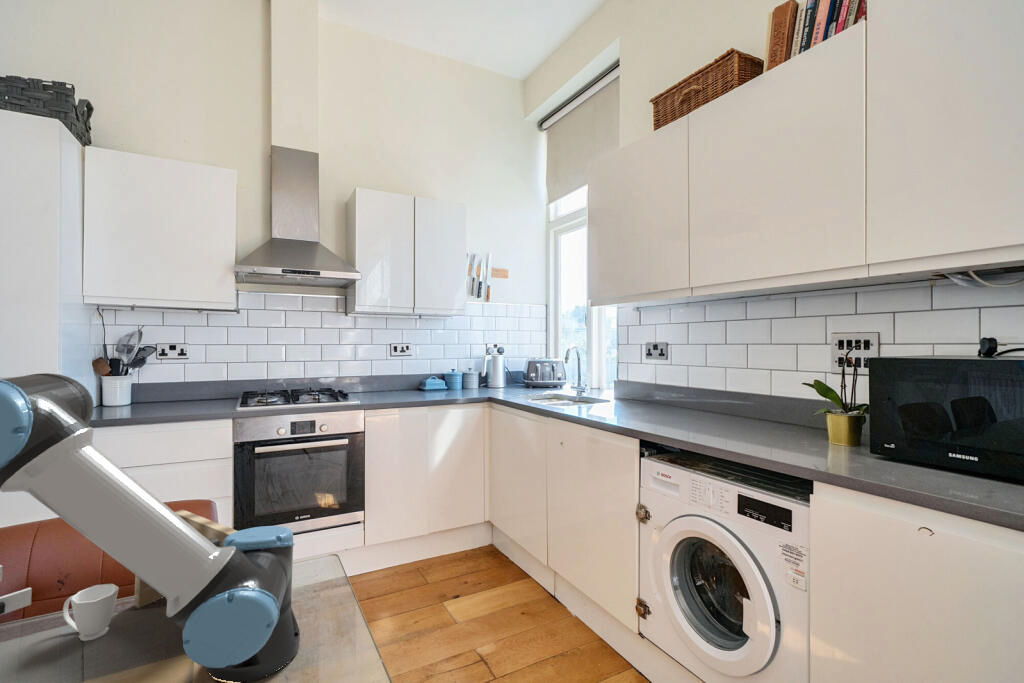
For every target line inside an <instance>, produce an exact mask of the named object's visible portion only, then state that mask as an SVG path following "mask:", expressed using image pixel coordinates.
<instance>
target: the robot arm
mask: <svg viewBox="0 0 1024 683" xmlns="http://www.w3.org/2000/svg"><path fill="white" fill-rule="evenodd" d="M94 407H95V404H94V400H93V397H92V395H91V393H90V391H89V390H88V389H87V387H85V385H83V383H80V381H78V380H77V379H73V378H72V377H69V376H67V375H62V374H60V373H59V374H58V373H50V372H49V373H48V372H45V373H44V372H43V373H34V374H28V375H21V376H14V377H8V378H2V379H1V378H0V492H1V493H15V492H16V493H18V492H19V493H20V492H24V493H28V494H29V495H30V496H32V497H33V498H34V499H35V500H37V501H38V502H39V503H41V504H42V505H43V506H45V507H46V508H47V509H48V510H50V511H51V512H52V513H53V514H55V515H57V516H58V517H59V518H60V519H62V520H63V521H64V522H65V523H67V524H68V525H70V526H71V527H72V528H74V529H75V530H76V531H77V532H79V533H80V534H82V535H83V537H85V538H86V539H88V540H89V541H90V542H92V543H94V545H96V546H97V547H98V548H100V549H101V550H102V551H104V552H105V553H106V554H108V555H109V556H110V557H111V558H113V559H114V560H115V561H117V562H118V563H119V564H121V565H122V566H123V567H125V568H126V569H127V570H128V571H130V572H131V573H132V574H133V575H134V576H135V575H136V576H138V577H139V578H140V579H141V580H143V581H144V582H145V583H147V584H148V585H149V586H151V587H152V588H153V589H155V590H156V591H157V592H158V593H160V594H161V595H162V596H164V597H165V598H164V599H166V613H165V615H166V616H167V618H168V619H170V620H171V621H172V622H174V623H175V624H176V625H177V626H179V627H180V629H182V634H181V635H182V647H183V650H184V652H185V654H186V655H187V657H188V658H189V659H190V660H191V661H192V662H194V663H196V664H197V665H200V666H203V667H205V668H206V671H207V670H208V672H209V673H210V674H211V676H213V677H215V678H217V679H221V680H226V681H233V682H246V683H251V682H254V681H258V680H261V679H263V677H264V678H266V677H267V676H266V675H269V674H271V673H273V672H275V671H276V670H278V669H279V668H281V667H282V666H284V665H285V664H286V663H287V662H289V661H290V660H291V659H292V658H293V657H294V656H296V655H297V654H296V653H298V652H299V650H298V649H300V646H301V631H300V627H299V624H298V622H297V618H296V616H295V612H294V610H293V607H292V591H293V590H292V588H293V554H294V551H293V550H294V546H295V542H294V533H293V531H292V530H291V529H290V528H288V527H285V526H281V525H280V526H279V525H265V526H264V525H263V526H255V527H250V528H245V529H241V530H237V532H235V533H232V534H230V535H229V536H227V537H226V538H225V539H224V541H223V546H222V548H219V547H216V546H215V545H214V544H213V543H211V542H210V541H209V540H208V539H207V538H205V537H204V536H203V535H202V534H200V533H199V532H198V531H197V530H196V529H194V528H193V527H192V526H191V525H189V524H188V523H187V522H186V521H185V520H183V519H182V518H181V517H180V516H179V515H177V514H176V513H175V512H176V511H174V510H173V509H171V507H169V506H168V505H167V504H165V503H164V502H163V501H162V500H160V499H159V498H158V497H157V496H156V495H154V494H153V493H152V492H151V491H149V490H148V489H147V488H146V487H145V486H143V485H142V484H141V483H139V482H138V481H137V479H135V477H133V476H131V475H130V474H129V473H128V472H126V471H125V470H124V469H122V468H121V467H120V466H119V465H118V464H117V463H116V462H114V460H112V459H111V458H110V457H108V456H107V455H106V454H105V453H103V451H101V450H100V449H99V448H97V447H96V446H95V445H94V444H93V436H94V428H93V427H91V426H90V425H89V424H90V422H91V420H92V418H93V415H94V410H95V408H94ZM3 568H4V567H3V565H2V564H0V582H2V581H3V571H4V569H3ZM32 592H33V589H32V587H26V588H24V589H21V590H18V591H14V592H12V593H8V594H5V595H3V596H2V595H1V596H0V616H2V615H6V614H7V613H11V612H13V611H17V610H19V609H22V608H23V609H24V608H26V607H28V606H30V605H32ZM299 645H300V646H299ZM297 651H298V652H297ZM295 654H296V655H295ZM294 658H295V657H294ZM294 658H293V659H294ZM293 659H292V660H293ZM292 660H291V661H292ZM291 661H290V662H291ZM290 662H289V663H290ZM284 667H285V666H284ZM281 669H282V668H281ZM278 671H279V670H278ZM208 672H207V673H208ZM275 673H276V672H275ZM273 674H274V673H273ZM271 675H272V674H271ZM265 676H266V677H265ZM269 676H270V675H269Z"/></svg>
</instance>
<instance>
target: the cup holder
mask: <svg viewBox="0 0 1024 683" xmlns="http://www.w3.org/2000/svg"><path fill="white" fill-rule="evenodd" d="M174 512H175V513H176V514H177V515H179V516H180V517H181V518H182V519H183V520H185V521H186V522H187V523H188V524H189V525H191V526H192V527H193V528H194V529H196V530H197V531H198V532H199V533H200V534H202V535H203V536H204V537H205V538H207V539H208V540H209V541H210V542H211V543H213V544H214V545H215V546H216V547H219V548H222V546H223V541H224V539H225V538H226V537H227V536H229V535H230V534H232V533H235V532H237V531H238V530H236V529H233V528H231V527H229V526H227V525H223V524H221V523H219V522H216V521H213V520H211V519H208V518H205V517H203V516H200V515H198V514H196V513H194V512H193V513H192V512H191V511H188V510H185V509H180V510H176V511H174ZM161 597H163V596H162V595H161V594H160V593H158V592H157V591H156V590H155V589H153V588H152V587H151V586H149V585H148V584H147V583H145V582H144V581H143V580H141V579H140V578H139V577H138V576H136V575H135V574H134V600H133V602H134V605H135V606H134V607H136V608H138V609H141V608H143V607H145V605H146V604H148V605H150V604H152V603H151V602H153V601H155V600H157V599H159V598H161ZM155 602H156V601H155ZM149 603H150V604H149ZM153 603H154V602H153ZM142 606H143V607H142ZM146 606H147V605H146ZM140 607H141V608H140Z"/></svg>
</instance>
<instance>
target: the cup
mask: <svg viewBox="0 0 1024 683" xmlns="http://www.w3.org/2000/svg"><path fill="white" fill-rule="evenodd" d="M119 589H120V587H119V586H118V585H116V584H114V583H105V584H96V585H93V586H90V587H87V588H85V589H82V590H79V591H77V593H76V594H74V595H71V596H70V597H68V598H66V600H65V601H64V604H63V608H62V616H63V620H64V621H65V622H66V624H67V625H68V626H69V627H70V628H71V629H73V631H76V632H77V633H78V632H79V633H78V634H79V635H78V639H79V638H80V640H81V641H84V642H85V641H86V642H87V641H92V640H95V639H98V638H101V637H103V636H104V635H106V634H107V632H108V631H109V630H110V627H109V625H110V623H111V621H112V618H113V615H114V612H115V608H116V607H115V606H116V602H117V597H118V594H119ZM70 603H71V609H72V614H73V619H74V620H73V619H72V617H70V614H69V605H70Z"/></svg>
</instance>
